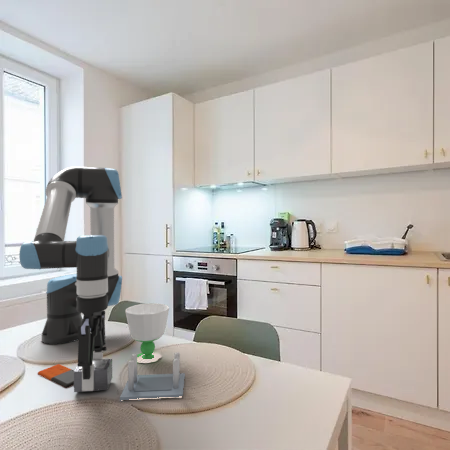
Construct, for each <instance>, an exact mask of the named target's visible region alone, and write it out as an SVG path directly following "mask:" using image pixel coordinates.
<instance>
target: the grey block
mask: <svg viewBox="0 0 450 450" xmlns="http://www.w3.org/2000/svg"><path fill="white" fill-rule="evenodd" d="M93 363H94V390H93V391H94V392H95V391H107V390H108V389H109V387H110V384H111V382H112V380H113V358H105V359H104V358H103V359H101V360H93ZM93 391H92V392H93ZM81 392H85V391H82V367H78V365H77V366H76V367H75V369H74V383H73V393H81Z"/></svg>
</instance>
